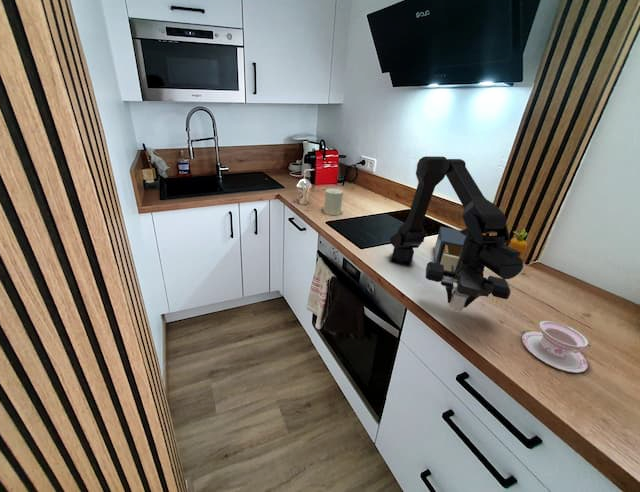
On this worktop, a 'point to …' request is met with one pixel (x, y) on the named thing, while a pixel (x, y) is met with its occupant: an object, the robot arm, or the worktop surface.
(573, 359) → the teacup
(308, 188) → the cup with straw
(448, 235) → the cabinet
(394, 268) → the worktop surface
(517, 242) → the carrot
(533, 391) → the worktop surface
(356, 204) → the worktop surface
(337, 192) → the can
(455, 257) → the drawer
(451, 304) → the salt shaker
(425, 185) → the robot arm
